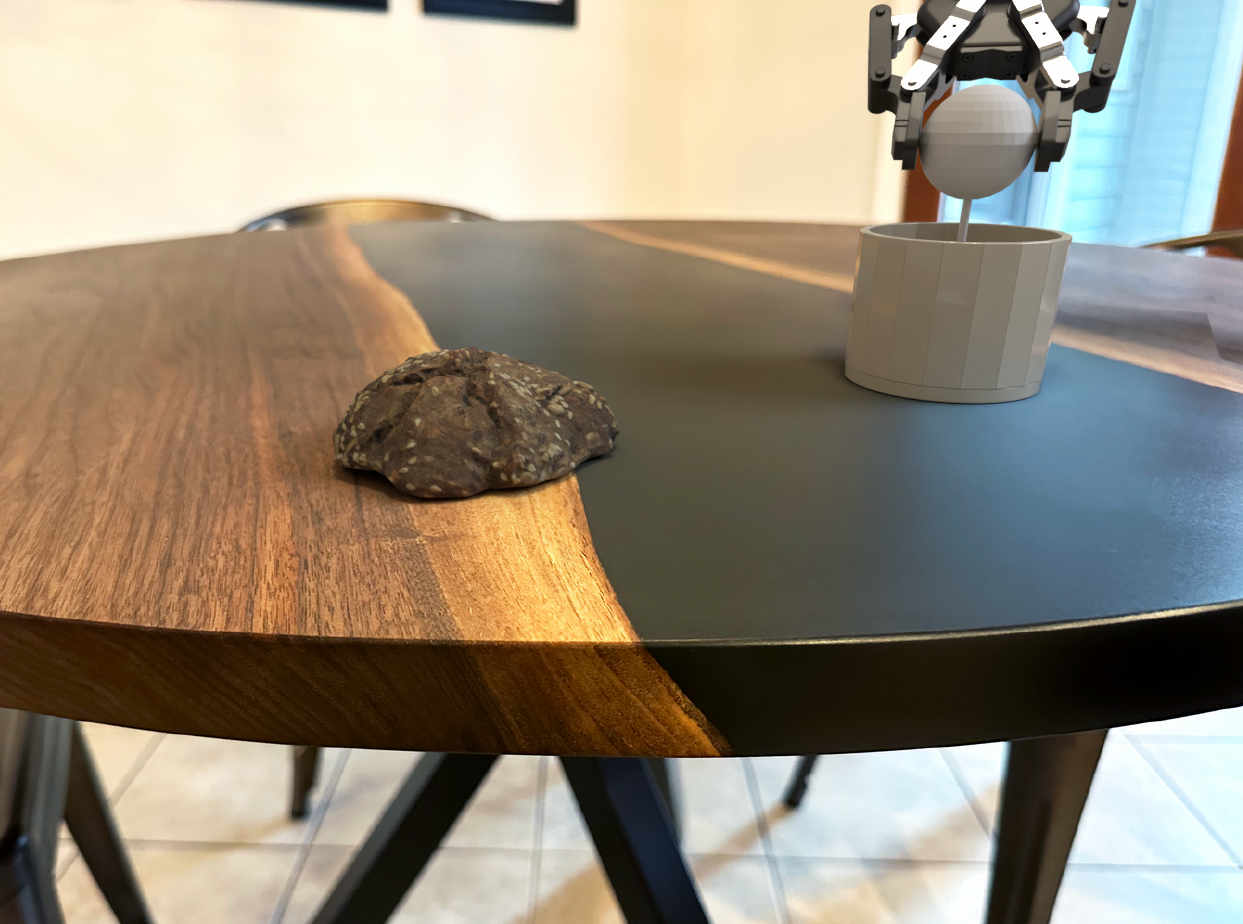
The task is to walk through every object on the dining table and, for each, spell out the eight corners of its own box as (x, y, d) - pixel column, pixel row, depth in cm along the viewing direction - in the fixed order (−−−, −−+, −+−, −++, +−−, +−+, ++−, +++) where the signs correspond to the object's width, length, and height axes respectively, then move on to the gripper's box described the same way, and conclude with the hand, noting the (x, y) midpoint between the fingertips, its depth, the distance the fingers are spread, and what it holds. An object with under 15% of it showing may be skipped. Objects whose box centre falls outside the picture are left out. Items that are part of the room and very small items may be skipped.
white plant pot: (972, 353, 62) (995, 219, 59) (1084, 398, 52) (1119, 240, 49) (815, 360, 61) (829, 223, 58) (898, 408, 51) (921, 245, 48)
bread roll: (443, 402, 53) (438, 312, 51) (644, 435, 47) (648, 335, 45) (275, 470, 42) (261, 362, 41) (506, 523, 37) (502, 399, 35)
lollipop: (867, 353, 58) (902, 85, 52) (941, 344, 60) (981, 85, 54) (943, 377, 53) (991, 81, 47) (1020, 366, 55) (1075, 81, 49)
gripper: (881, -115, 55) (837, 107, 50) (1165, -138, 50) (1150, 104, 45) (875, -2, 62) (836, 204, 56) (1125, -13, 57) (1108, 211, 51)
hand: (975, 159), depth 50 cm, fingers closed on lollipop, 6 cm apart
